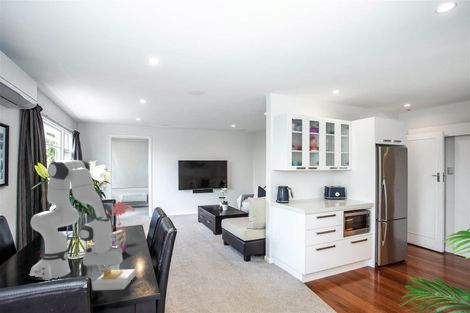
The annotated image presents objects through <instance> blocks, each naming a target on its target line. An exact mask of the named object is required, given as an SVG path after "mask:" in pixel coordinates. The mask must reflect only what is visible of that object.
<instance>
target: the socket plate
mask: <svg viewBox="0 0 470 313" xmlns="http://www.w3.org/2000/svg"><path fill="white" fill-rule="evenodd" d="M121 270H122V273H121V274H120V275H119V276H118V277H117V278H116V279H102V277H104V276H103V273H101V276H98V277H97V279H95V280H93V282H92V291H112V290H113V291H115V290H125V289H126V288H127V286H128V285H129V284H130V283H131V280H132V281H133V280H134V278H135V277H136V269H135V268H134V269H133V268H131V269H130V268H129V269H119V270H111V271H121Z"/></svg>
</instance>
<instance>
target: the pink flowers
mask: <svg viewBox="0 0 470 313" xmlns="http://www.w3.org/2000/svg"><path fill="white" fill-rule="evenodd" d="M127 209H129V210H131V211H132V212H135V210H134V207H132V206H131V205H127V203H124V201H123V200H121V202H120V201H118V202H117V203H116V202H115V203H114V204H113V207H112V210H113V211H112V213H113V215H111V213H110V212H109V211H108V209H106V212H107V215H109V216H110V217H113V216H114V217H115V216H117V221H118V223H117V225H115V226H112V227H113V228H112V232H114V228H116V227H118V226H119V227H120V226H123V227H125V225H123V224H122V223H121V222H120V218H119V215H120V216H122V215H123V214H126V212H127ZM127 239H128V236H127V235H126V240H127ZM132 240H133V238H132ZM132 240H131V241H132Z"/></svg>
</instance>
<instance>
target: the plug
mask: <svg viewBox="0 0 470 313" xmlns="http://www.w3.org/2000/svg"><path fill="white" fill-rule="evenodd" d="M108 267H109V268H111V270H120V264H115V265H109V266H108Z"/></svg>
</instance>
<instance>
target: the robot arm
mask: <svg viewBox="0 0 470 313" xmlns="http://www.w3.org/2000/svg"><path fill="white" fill-rule="evenodd" d="M90 170H91V168H90V164H89V162H87V161H85V160H81V159H80V160H78V159H69V160H54V161H51V163H49V165H48V168H47V173H48V175H49V176H50V177H49V180H48V185H47V194H46V195H47V196H46V198H47V199H46V200H47V202H48V203H49V204H51V205H54V206H55V209H53V210H47V211H46V210H45V211H41V212H39V213H36V214H34V215H33V216H32V217H31V219H30V227H31V228H32V230H34V231H36V232H38V233H39V234H40V235H41V236H42V237H43V240H44V249H45V250H44V253H42V254H41V255H40V257H42V258H41V259H40V260H38V262H37V263H36V264H34V265H32V267H31V270H30V272H29V275H30V276H35V277H42V278H43V279H44V278H46V279H45V280H48V281H50V280H49V279H52V278H55V279H59V278H62V277H65V276H67V275H68V274H70V273H71V269H70V265H69V260H68V259H69V249H68V237H67V235H66V234H64V233H61V232H59V231H58V230H59V229H60V228H64V227H69V226H70V225H73V224H76V223H77V222H78V221H79V219H80V212H79V210H78V209H77V208H75V207H74V206H73V205H72V204H71V200H70V189H71V193H72V196H73V198H74V199H75V201H78V202H79V203H83V204H85V205H90V206H91V207H92V209H93V210H94V213H95V216H96V218H94V219H93V221H90V222H89V223H85V224H83V225H82V226H81V227H79V228H80V229H79V232H78V234H79V235H78V236H79V237H80V240H81V241H84V242H91V241H93V244H92V245H90V246H87V247H85V249H84V254H83V257H82V262H83V265H84V266H86V267H89V266H91V267H92V266H97V268H98V270H99V274H103V272H104V271H105V270H106V269H108V268H109V267H110V266H109V265H115V264H119V265H121V263H122V262H123V259H124V258H123V253H122V249H121V248H120V247H112V239H111V233H113V231H112V228H113V227H114V226H113V223H112V222H111V219H110V218H109V214H107V212H106V210H107V209H106V207H105V206H106V205H105V203H104V201H103V197H101V195H100V194H98V192H97V191H96V189H95V188H96V187H95V183H94V181H93V177H92V174H91V172H90ZM58 228H59V229H58ZM113 229H114V228H113ZM103 266H104V268H103ZM58 277H59V278H58ZM52 280H53V279H52ZM48 281H47V282H48Z"/></svg>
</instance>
